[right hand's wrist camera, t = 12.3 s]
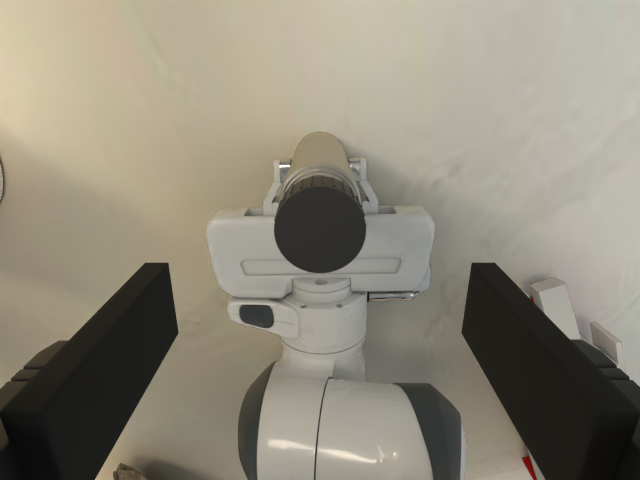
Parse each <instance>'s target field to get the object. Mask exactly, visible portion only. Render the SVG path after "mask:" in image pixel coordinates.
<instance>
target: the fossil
mask: <svg viewBox="0 0 640 480" xmlns="http://www.w3.org/2000/svg"><path fill="white" fill-rule="evenodd" d="M113 477H114V480H148V478H146V477H144V476H142V475H141V474H140V473H139V472H138V471H136V470H135V469H134V468H132V467H129V466H127V465H125V464H122V463H120V464H119V466H118V468H117V470H116V471H114V472H113Z"/></svg>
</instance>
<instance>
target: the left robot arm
mask: <svg viewBox="0 0 640 480" xmlns="http://www.w3.org/2000/svg"><path fill="white" fill-rule="evenodd" d="M291 162H292V159H275V160H274V166H273V167H274V181H273V183H272V185H271V187H270V189H269V191H268V193H267V195H266V197H265V199H264V201H263V208H222V209H220V210H218V211H217V212H216V213H215V214H214V215H213V216H212V218H211V219H210V221H209V222H208V224H207V226H206V238H207V245H208V250H209V255H210V260H211V264H212V267H213V271H214V274H215V278H216V280H217V282H218V284H219V286H220V287H221V289H222V290H223V291H224V292H226V293H227V294H229V295H230V296H229V300H228V306H227V313H228V317H229V319H230V320H231V321H233V322H236V323H239V324H243V325H247V326H250V327H254V328H258V329H262V330H265V331H268V332H271V333H274V334H277V335H279V336H280V339H281V342H282V347H283V352H282V357H281V359H280V360H279V361H275V362H273V363H272V364H271V365H270V366H268V367H267V368H266V369H265V371H264V372H263V373H262V374H261V375H260V376H259V377H258V378H257V379H256V380H255V381H254V382H253V384H252V385H251V386H250V388H249V389H248V391H247V393H246V395H245V397H244V400H243V403H242V406H241V410H240V415H239V423H238V448H239V457H240V461H241V464H242V467H243V470H244V472H245V474H246V477H247V479H248V480H465V476H466V468H467V443H466V436H465V431H464V427H463V424H462V421H461V418H460V413H459V412H458V411H457V410H456V408H455V407H454V406H453V405H452V404H451V403H450V402H449V401H448V400H447V399H446V398H445V397H444V396H443V395H442V394H441V393H440V392H439V391H438V390H437V389H435V388H434V387H433V386H432V385H431V384H428V383H393V384H384V383H374V382H365V359H364V356H363V353H362V345H363V343H364V340H365V336H366V324H367V302H368V301H387V300H401V301H407V300H412V299H414V296H418V295H420V294H422V293H423V292H424V291H425V290H427V289H428V287H429V284H430V276H431V266H430V263H429V259H430V255H431V251H432V246H433V241H434V234H435V222H434V220H433V218H432V217H431V215H430V214H429V213H428V212H427V211H426V210H425V209H424V208H423V207H422V206H419V205H399V206H378V199H377V197H376V195H375V193H374V191H373V189H372V188H371V186H370V184H369V182H368V181H367V179H366V165H367V164H366V158H365V157H356V158H348V162H349V165H350V167H351V170H352V173H353V176H354V178H355V181H359V183H360V185H361V187H362V189H363V190H364V192H365V194H366V195H361V196H360V197H361V205H362V208H363V211H364V214H365V217H364V218H365V222H366V225H367V227H366V238H365V241H364V245H363V247H362V249H361V251H360V252H359V254H358V255H357V256H356V258H355V259H354V260H353V261H352V262H350V263H349V264H348V265H346V266H345V267H343V268H341V269H339V270H336V271H333V272H328V273H312V272H307V271H304V270H301V269H299V268H297V267H295V266H294V265H292V264H291V263H290V262H289V261H287V260H286V258H285V257H284V256H283V255H282V254H281V252H280V250H279V248H278V246H277V244H276V241H275V237H274V223H275V221H274V219H275V216H276V213H277V209H278V206H279V198H280V196H276V197H275V195H276V193H277V191H278V189H279V188H280V186H281V184H282V182H284V181H285V179H286V176H287V173H288V170H289V168H290V165H291ZM2 190H3V176H2V169H1V165H0V200H1V196H2ZM274 197H275V198H274ZM414 291H416V292H414Z"/></svg>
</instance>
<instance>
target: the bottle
mask: <svg viewBox="0 0 640 480" xmlns="http://www.w3.org/2000/svg"><path fill="white" fill-rule="evenodd" d="M322 175H324V176H327V177H332V178H333V177H334V178H335V179H337V180H339V181H341V182H342V181H343V182H344V184H346V185H347V186H348V187H349V188H352V191H353V192H354V193H355V195H356V196H358V198H359V201H360V204H361V197H360V192H359V189H358V186H357V184H356V181H355V178H354V176H353V173H352V170H351V167H350V165H349V162H348V159H347V157H346V154H345V151H344V149H343V146H342V144H341V143H340V141H339V140H338V139H337V138H336V137H335V136H333V135H331V134H329V133H326V132H314V133H311V134H309V135H307V136H305V137H304V138H303V139H302V140H301V141H300V143H299V144H298V146H297V149H296V151H295V154H294V157H293V160H292V162H291V165H290V168H289V170H288V173H287V176H286V179H285V181H284V184H283V187H282V190H281V193H280V198H279V203H280V200H282V199H283V197H284V194H285V192H287V191H288V190H289V189H290V188H291V187H292V185H293V184H296V183H297V182H299V181H301V179H306V178H309V177H311V176H313V177H314V176H322Z"/></svg>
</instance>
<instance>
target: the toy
mask: <svg viewBox="0 0 640 480" xmlns="http://www.w3.org/2000/svg"><path fill="white" fill-rule="evenodd" d="M529 286H530V289H531V293H532V296H533V298H532V299H531V300H532V301H533V302H534V303H535V304H536V305H537V306H538V307H539V308H540V309H541V310H542V311H543V312H544V313H545V315H546V316H547V317H548V318H549V319H550V320H551V321H552V322H553V323H554V324H555V325H556V326H557V327H558V328H559V329H560V330H561V331H562V332H563V333H564V334H565V335H566V336H567V337H568V338H569V339H582V340H583V341H585V342H587V343H588V344H590V345H592V346H594V347H595V348H597V349H599V350H600V351H602V352H603V353H604V354H605V355H606V356H607V357H608V358H609V359H611V360H612V361H613V362H614V363H615V364H616V365H617V368H620V369H621V370H622V371H623V372H624V373H625V365H624V357H623V349H622V342H621V341H620V340H619V339H617V338H616V337H615V336H614V335H612V334H611V333H610V332H608V331H607V330H606V329H605V328H603V327H602V326H601V325H599V324H598V323H597V322H596V321H595V322H591V323H590V325H591V331H592V338H593V343H591V342H590V341H589V340H588V339H586V338H585V337H584V336H583V335H581V334H580V333H579V330H578V327H577V323H576V319H575V316H574V312H573V308H572V304H571V301H570V297H569V293H568V290H567V286H566V283H564V282H563V281H561V280H559V279H558V278H556V277H552V278H549V279H546V280H543V281H540V282H537V283H534V284H531V285H529ZM520 289H521V288H520ZM521 290H522V289H521ZM522 291H523V290H522ZM523 292H524V291H523ZM524 293H525V294H526V295H527V296H528V297H529V295H528V294H527V293H526V292H524ZM529 298H530V297H529ZM625 374H626V373H625ZM527 450H528V448H527ZM528 453H529V457H525V458H522V459H523V462H524V464H525V466H526V467H527V469H528V471H529V473H530V474H531V476H532V478H533V480H545V478H544V476H543V475H542V473H541V471H540V469H539V468H538V466H537V464H536V462H535V461H534V459H533V457H532V455H531V454H530V452H529V450H528Z"/></svg>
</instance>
